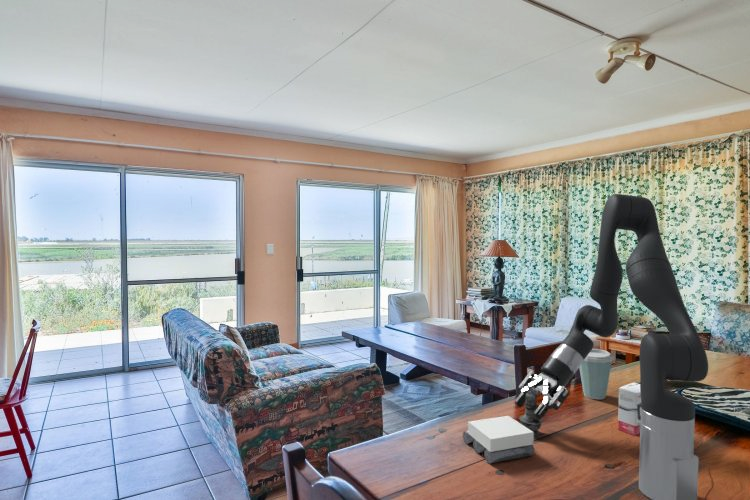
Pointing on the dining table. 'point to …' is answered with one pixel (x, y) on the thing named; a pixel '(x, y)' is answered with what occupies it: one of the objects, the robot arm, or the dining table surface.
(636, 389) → the ink box
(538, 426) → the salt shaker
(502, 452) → the roller track
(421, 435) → the dining table surface
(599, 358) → the disposable coffee cup
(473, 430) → the slab
